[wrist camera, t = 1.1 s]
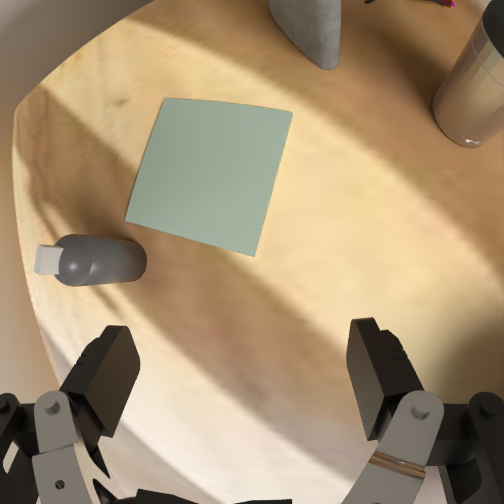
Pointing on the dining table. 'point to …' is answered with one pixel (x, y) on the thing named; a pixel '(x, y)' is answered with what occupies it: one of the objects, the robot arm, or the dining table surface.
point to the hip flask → (311, 28)
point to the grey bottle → (91, 260)
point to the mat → (210, 172)
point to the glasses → (445, 0)
